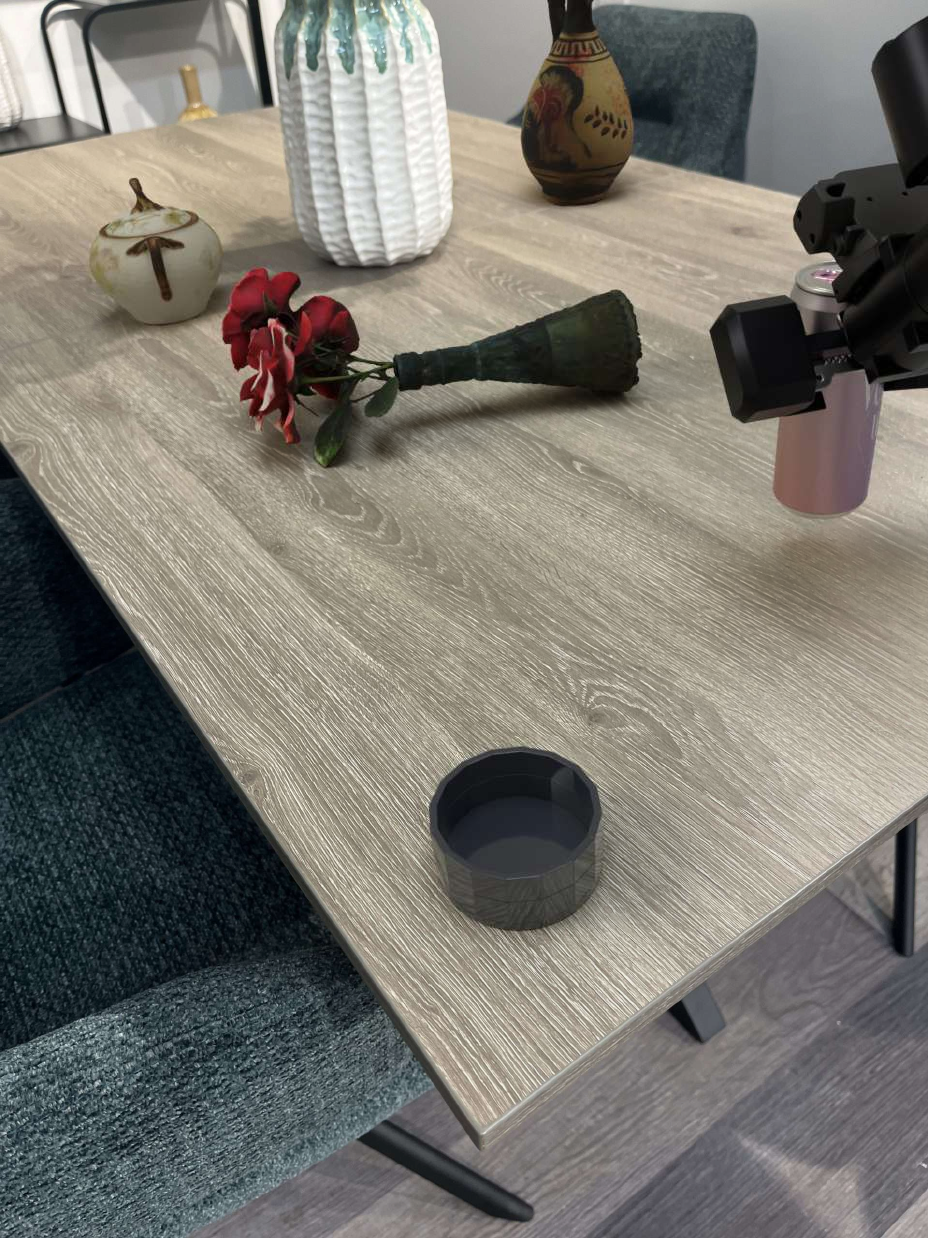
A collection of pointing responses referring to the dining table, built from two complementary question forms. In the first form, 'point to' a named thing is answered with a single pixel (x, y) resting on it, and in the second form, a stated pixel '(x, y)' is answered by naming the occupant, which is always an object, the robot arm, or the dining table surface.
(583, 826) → the pot
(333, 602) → the dining table surface
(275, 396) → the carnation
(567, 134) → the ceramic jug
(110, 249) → the sugar bowl
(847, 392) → the beverage can
